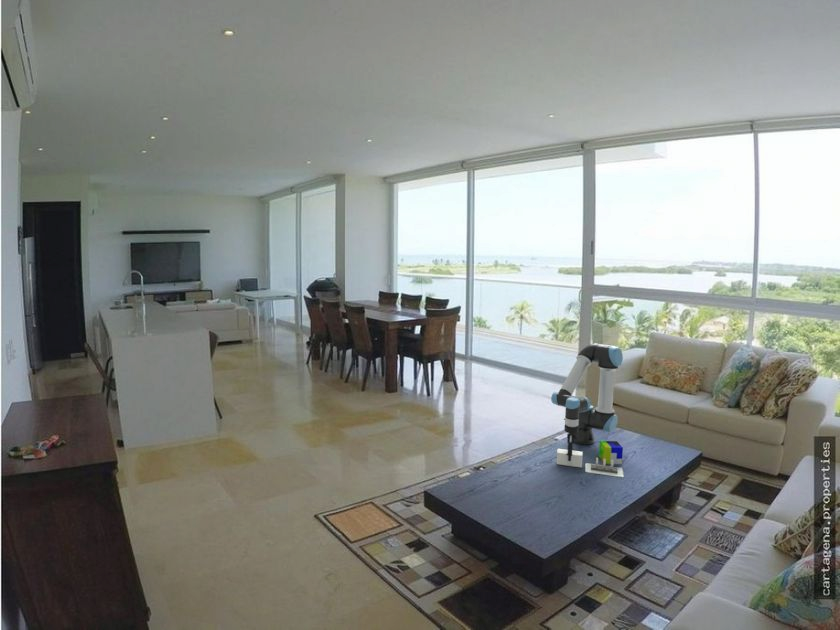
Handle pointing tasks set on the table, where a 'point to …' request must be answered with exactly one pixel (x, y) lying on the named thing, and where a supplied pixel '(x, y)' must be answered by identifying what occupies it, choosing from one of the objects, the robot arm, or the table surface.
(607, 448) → the puzzle toy
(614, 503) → the table surface
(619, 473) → the plate
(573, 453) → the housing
